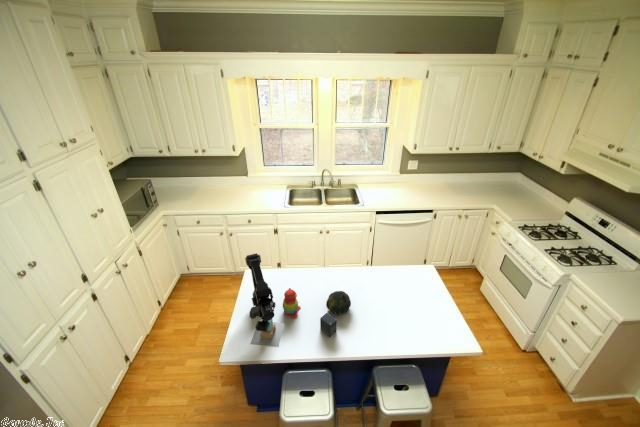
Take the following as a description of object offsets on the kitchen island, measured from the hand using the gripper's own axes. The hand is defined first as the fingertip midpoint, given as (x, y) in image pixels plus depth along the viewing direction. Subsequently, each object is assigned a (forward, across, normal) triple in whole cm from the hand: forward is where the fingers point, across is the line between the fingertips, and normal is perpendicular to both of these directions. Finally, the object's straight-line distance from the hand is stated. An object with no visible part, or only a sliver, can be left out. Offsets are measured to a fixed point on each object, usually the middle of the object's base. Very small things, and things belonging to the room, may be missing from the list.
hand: (267, 325), depth 166 cm
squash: (+7, -23, +39) cm, 46 cm away
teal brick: (+1, 0, 0) cm, 1 cm away
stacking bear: (+7, -17, +10) cm, 21 cm away
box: (+7, -6, +34) cm, 35 cm away
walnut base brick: (+6, 0, 0) cm, 6 cm away
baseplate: (+7, 0, 0) cm, 7 cm away
